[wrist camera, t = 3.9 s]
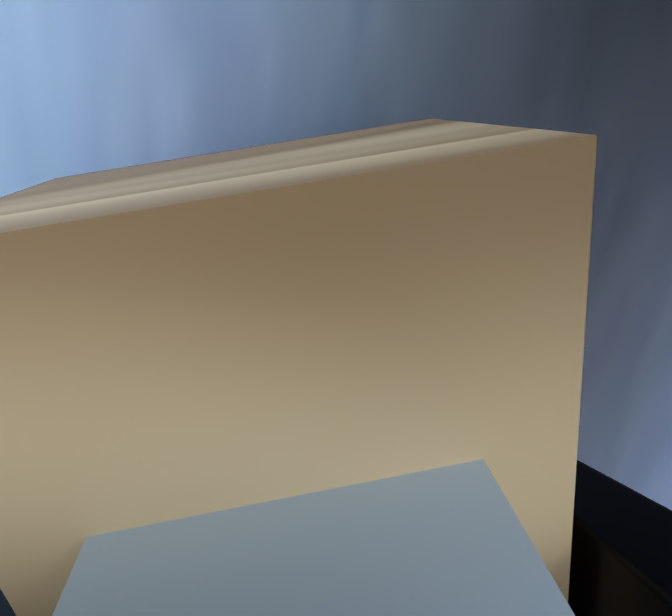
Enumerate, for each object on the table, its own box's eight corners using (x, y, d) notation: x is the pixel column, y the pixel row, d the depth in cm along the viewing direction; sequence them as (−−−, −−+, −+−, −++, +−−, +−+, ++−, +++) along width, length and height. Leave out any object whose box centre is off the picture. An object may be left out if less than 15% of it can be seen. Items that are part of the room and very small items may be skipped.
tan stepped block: (57, 177, 8) (-191, 264, 4) (431, 118, 8) (597, 135, 4) (220, 635, 12) (192, 912, 8) (460, 586, 12) (553, 828, 8)
